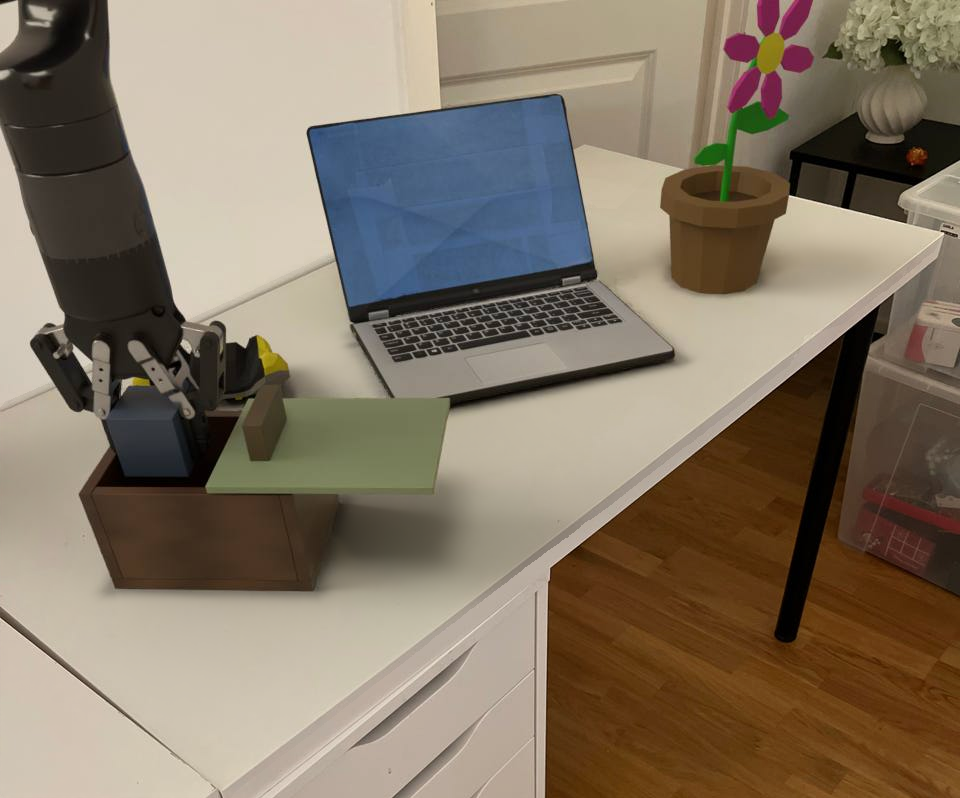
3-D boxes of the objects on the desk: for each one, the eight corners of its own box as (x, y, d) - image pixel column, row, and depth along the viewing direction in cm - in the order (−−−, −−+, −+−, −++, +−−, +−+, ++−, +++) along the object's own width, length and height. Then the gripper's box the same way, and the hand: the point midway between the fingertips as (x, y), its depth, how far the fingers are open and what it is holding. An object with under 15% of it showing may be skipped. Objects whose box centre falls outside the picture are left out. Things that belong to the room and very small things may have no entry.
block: (124, 477, 74) (104, 418, 70) (146, 442, 77) (128, 385, 74) (188, 477, 73) (171, 418, 70) (207, 442, 77) (191, 385, 73)
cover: (206, 493, 69) (194, 450, 67) (249, 404, 78) (240, 363, 76) (433, 494, 68) (429, 450, 66) (450, 404, 77) (447, 362, 75)
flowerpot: (707, 312, 108) (746, -5, 88) (629, 270, 117) (648, -26, 97) (802, 281, 113) (860, -27, 93) (720, 243, 122) (757, -44, 102)
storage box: (114, 588, 77) (77, 494, 70) (161, 501, 85) (132, 410, 79) (312, 591, 75) (292, 495, 69) (339, 502, 84) (324, 409, 78)
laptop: (399, 421, 94) (377, 226, 81) (328, 295, 116) (302, 126, 103) (678, 363, 100) (697, 172, 87) (559, 253, 122) (562, 89, 110)
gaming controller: (294, 412, 96) (295, 365, 103) (284, 361, 92) (285, 316, 99) (141, 429, 95) (152, 380, 102) (124, 377, 91) (137, 331, 98)
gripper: (217, 208, 65) (266, 429, 77) (15, 213, 67) (93, 429, 78) (185, 251, 60) (243, 482, 72) (-35, 255, 61) (57, 482, 73)
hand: (164, 454), depth 75 cm, fingers closed on block, 5 cm apart
